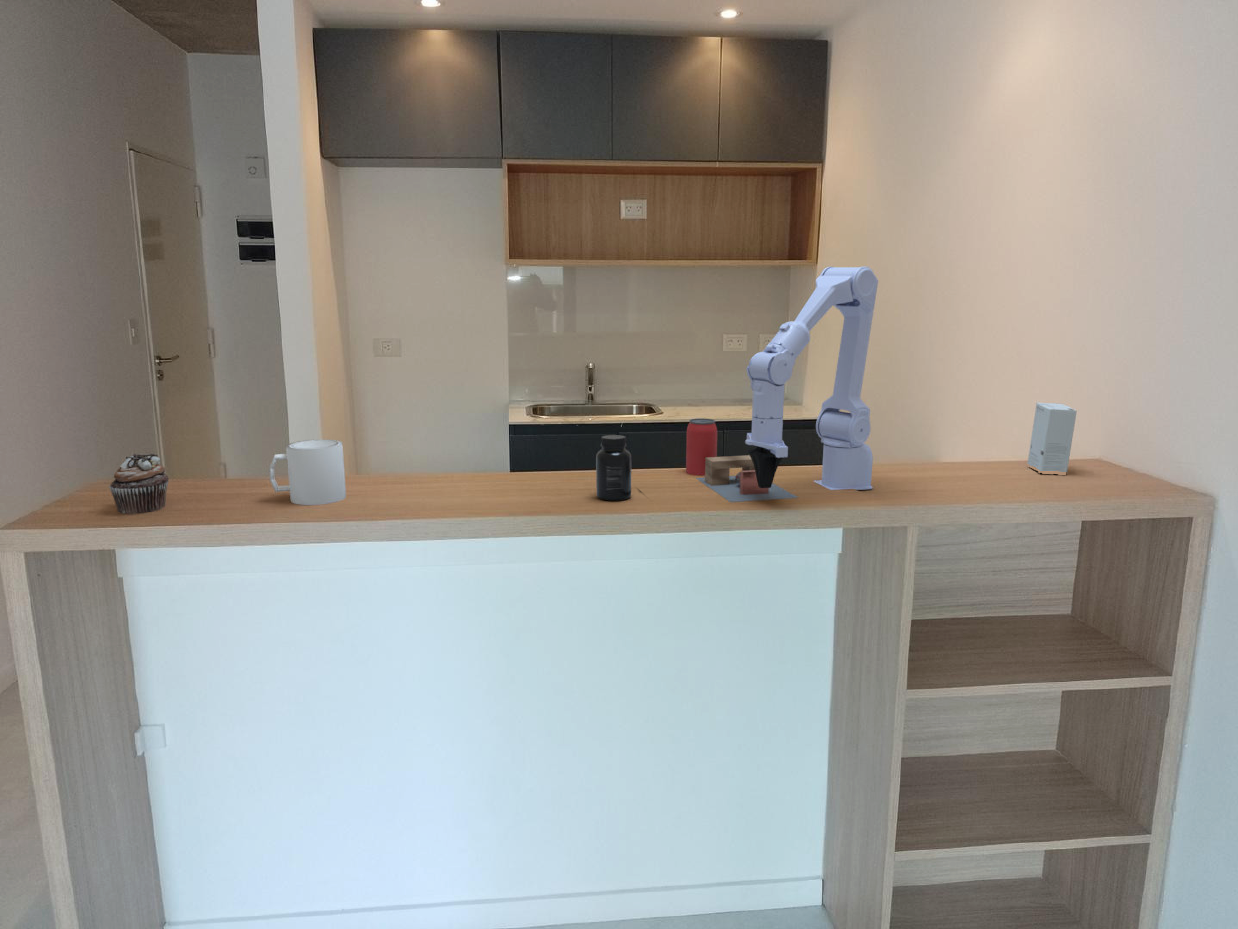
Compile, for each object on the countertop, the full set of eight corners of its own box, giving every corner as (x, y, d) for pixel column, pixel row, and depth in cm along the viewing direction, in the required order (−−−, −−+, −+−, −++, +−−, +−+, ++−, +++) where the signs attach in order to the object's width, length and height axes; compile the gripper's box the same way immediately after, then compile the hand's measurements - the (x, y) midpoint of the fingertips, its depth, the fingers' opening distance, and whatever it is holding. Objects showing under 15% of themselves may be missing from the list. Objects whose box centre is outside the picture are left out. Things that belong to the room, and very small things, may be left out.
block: (758, 477, 183) (759, 454, 182) (766, 482, 179) (767, 458, 178) (704, 481, 180) (705, 457, 179) (711, 485, 176) (712, 461, 175)
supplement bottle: (637, 495, 170) (638, 435, 168) (619, 503, 165) (620, 441, 162) (607, 491, 174) (607, 432, 171) (589, 498, 168) (589, 437, 166)
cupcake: (121, 503, 164) (115, 451, 162) (177, 500, 166) (171, 449, 164) (104, 516, 155) (97, 462, 153) (163, 513, 157) (157, 459, 155)
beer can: (714, 479, 184) (716, 423, 182) (683, 477, 186) (685, 422, 183) (717, 472, 191) (719, 418, 188) (687, 470, 192) (688, 417, 189)
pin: (768, 493, 170) (769, 470, 169) (741, 494, 169) (742, 472, 168) (754, 484, 177) (754, 463, 176) (728, 486, 176) (729, 464, 175)
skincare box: (1026, 467, 196) (1033, 402, 193) (1054, 467, 196) (1061, 402, 193) (1040, 475, 188) (1048, 407, 185) (1069, 476, 188) (1077, 408, 185)
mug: (270, 508, 161) (265, 452, 158) (273, 495, 170) (269, 442, 168) (346, 502, 165) (342, 447, 162) (345, 490, 174) (342, 438, 172)
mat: (757, 477, 186) (757, 474, 186) (798, 500, 167) (798, 497, 167) (695, 480, 183) (695, 478, 182) (730, 505, 164) (730, 501, 164)
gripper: (733, 411, 168) (730, 479, 171) (763, 423, 154) (760, 497, 157) (766, 410, 170) (764, 477, 173) (799, 422, 156) (796, 495, 159)
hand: (764, 487), depth 165 cm, fingers closed
